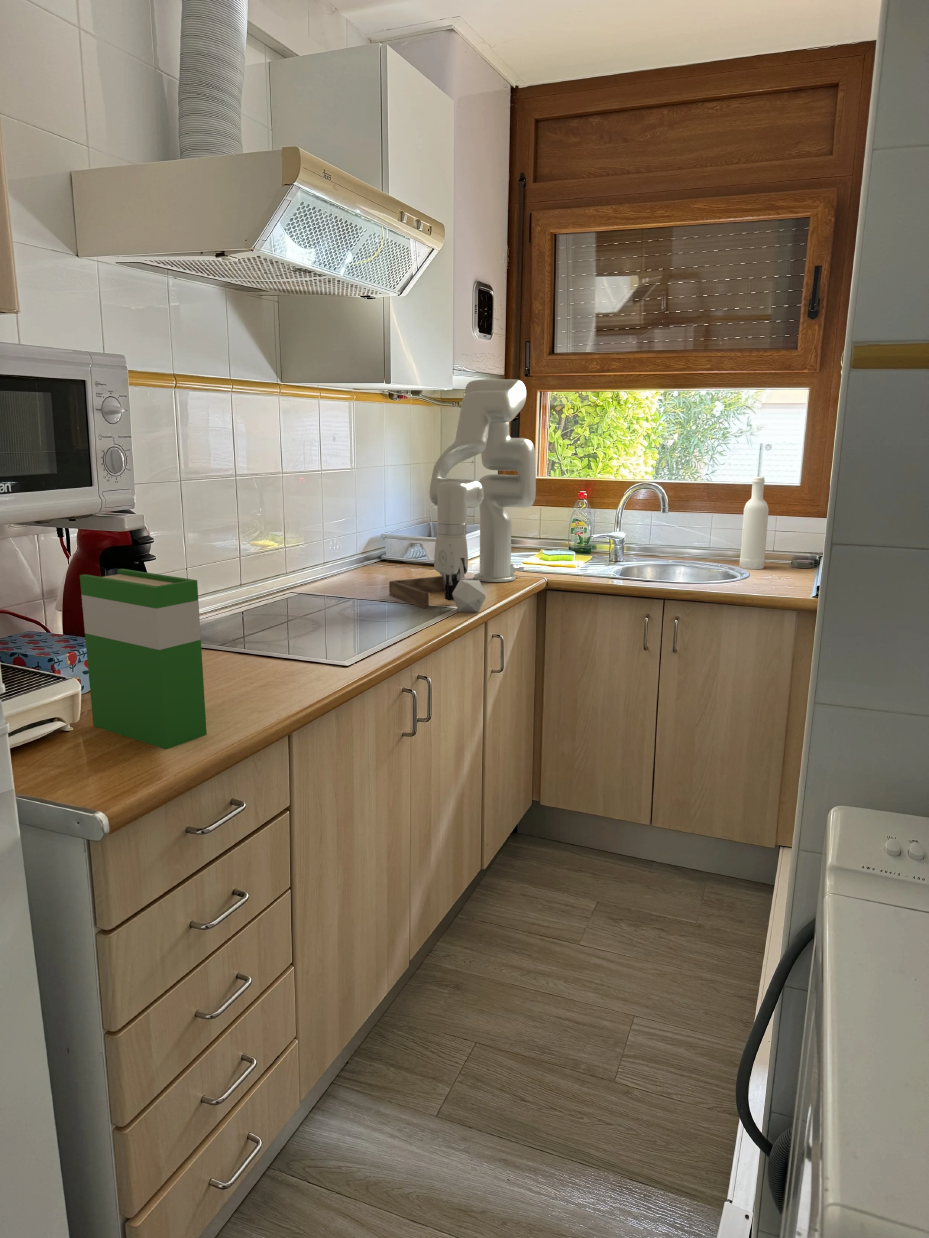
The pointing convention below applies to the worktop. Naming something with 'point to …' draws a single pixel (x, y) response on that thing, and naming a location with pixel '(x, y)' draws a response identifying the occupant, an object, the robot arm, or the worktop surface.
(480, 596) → the die
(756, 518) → the bottle
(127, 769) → the worktop surface
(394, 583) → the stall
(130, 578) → the hardback book
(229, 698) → the worktop surface
